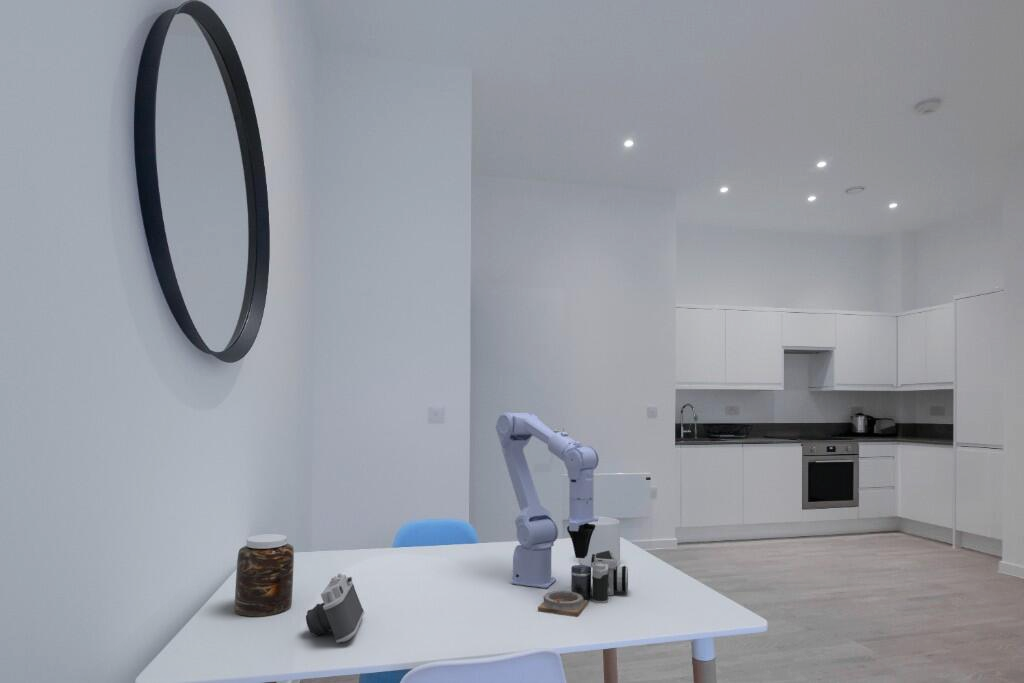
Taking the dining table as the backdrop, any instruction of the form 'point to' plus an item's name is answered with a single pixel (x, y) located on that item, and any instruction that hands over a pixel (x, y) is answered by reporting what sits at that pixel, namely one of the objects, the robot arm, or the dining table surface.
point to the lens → (581, 581)
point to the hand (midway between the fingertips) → (581, 556)
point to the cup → (604, 539)
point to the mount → (563, 603)
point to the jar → (264, 576)
